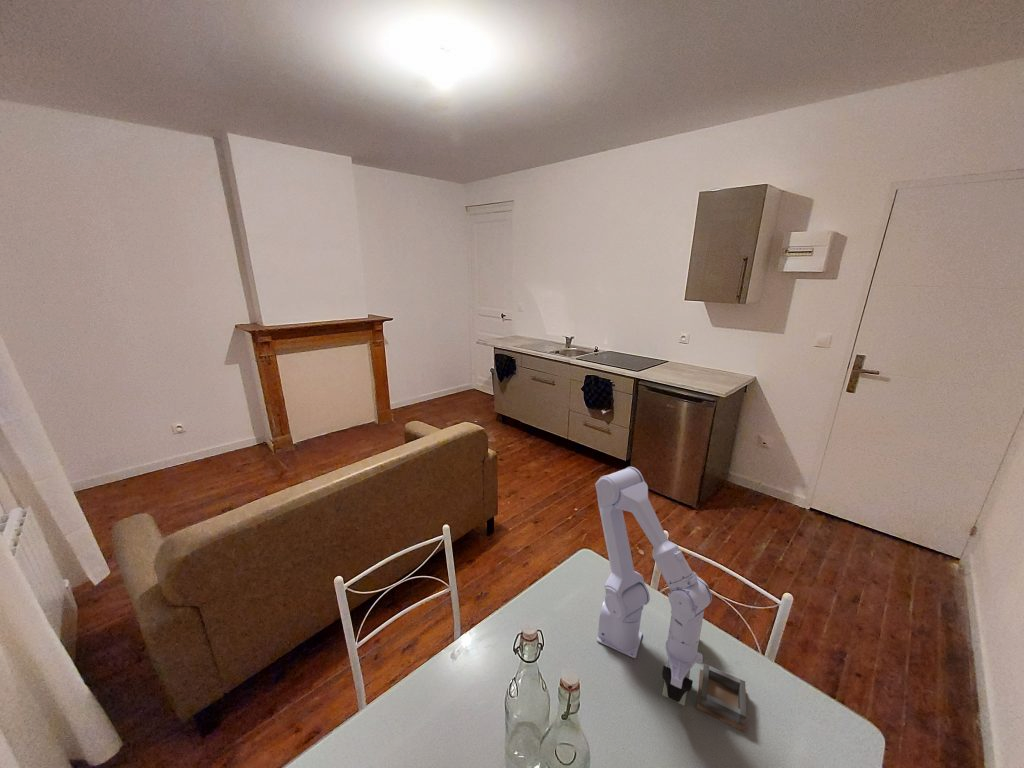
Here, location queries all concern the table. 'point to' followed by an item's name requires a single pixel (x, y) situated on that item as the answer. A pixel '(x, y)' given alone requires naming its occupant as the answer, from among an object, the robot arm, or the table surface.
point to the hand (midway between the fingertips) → (676, 682)
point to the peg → (666, 688)
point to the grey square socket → (722, 697)
